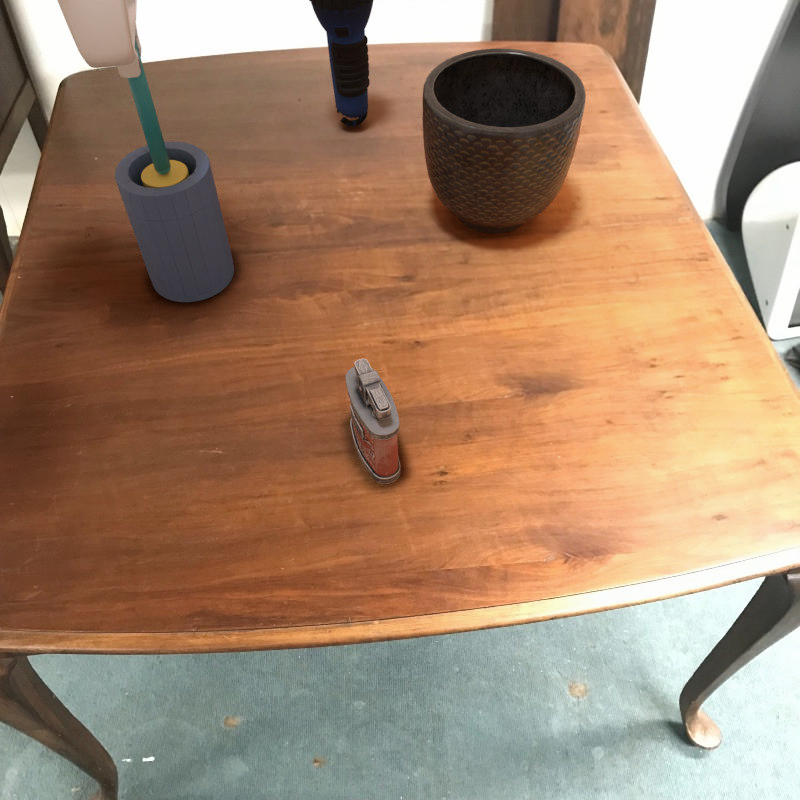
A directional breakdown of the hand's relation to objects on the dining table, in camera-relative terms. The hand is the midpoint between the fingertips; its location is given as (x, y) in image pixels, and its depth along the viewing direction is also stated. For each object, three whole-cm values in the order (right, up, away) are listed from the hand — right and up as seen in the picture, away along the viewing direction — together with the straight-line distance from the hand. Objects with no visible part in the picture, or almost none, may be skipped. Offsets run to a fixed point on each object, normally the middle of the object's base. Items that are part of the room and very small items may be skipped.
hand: (131, 65), depth 68 cm
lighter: (+21, -34, +4) cm, 41 cm away
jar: (0, -15, +19) cm, 25 cm away
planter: (+35, -7, +26) cm, 44 cm away
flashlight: (+17, +8, +38) cm, 42 cm away
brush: (0, -10, +13) cm, 16 cm away
